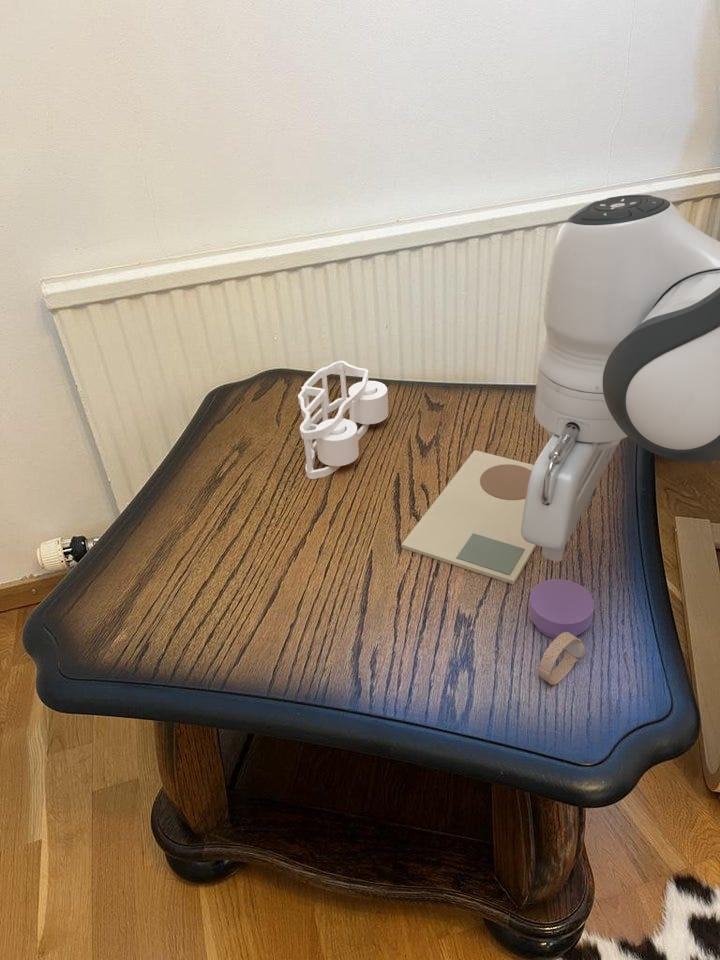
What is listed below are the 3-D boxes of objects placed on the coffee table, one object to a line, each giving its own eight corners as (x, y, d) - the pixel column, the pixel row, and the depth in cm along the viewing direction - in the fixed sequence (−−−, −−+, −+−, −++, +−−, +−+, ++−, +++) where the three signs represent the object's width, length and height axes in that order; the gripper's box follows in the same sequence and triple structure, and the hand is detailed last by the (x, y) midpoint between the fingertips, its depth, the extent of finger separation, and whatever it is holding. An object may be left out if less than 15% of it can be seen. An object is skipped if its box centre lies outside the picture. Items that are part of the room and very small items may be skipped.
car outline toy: (345, 486, 100) (341, 439, 96) (271, 470, 104) (264, 425, 100) (398, 411, 115) (397, 368, 110) (332, 400, 119) (328, 358, 114)
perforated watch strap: (582, 669, 74) (588, 634, 71) (552, 698, 71) (557, 662, 68) (559, 654, 75) (564, 619, 72) (529, 682, 73) (533, 646, 70)
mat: (574, 478, 99) (575, 474, 98) (514, 585, 83) (514, 580, 83) (474, 453, 105) (474, 448, 104) (401, 548, 90) (401, 543, 89)
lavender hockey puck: (598, 611, 80) (602, 590, 78) (580, 653, 75) (583, 632, 73) (539, 592, 82) (541, 571, 81) (518, 631, 78) (520, 610, 76)
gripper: (590, 473, 55) (568, 607, 63) (655, 354, 69) (630, 477, 77) (508, 451, 58) (497, 583, 66) (586, 341, 72) (569, 461, 80)
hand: (569, 525), depth 72 cm, fingers open, 8 cm apart
